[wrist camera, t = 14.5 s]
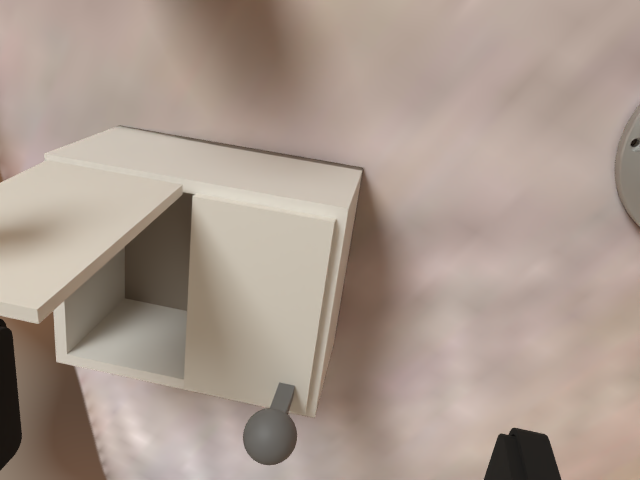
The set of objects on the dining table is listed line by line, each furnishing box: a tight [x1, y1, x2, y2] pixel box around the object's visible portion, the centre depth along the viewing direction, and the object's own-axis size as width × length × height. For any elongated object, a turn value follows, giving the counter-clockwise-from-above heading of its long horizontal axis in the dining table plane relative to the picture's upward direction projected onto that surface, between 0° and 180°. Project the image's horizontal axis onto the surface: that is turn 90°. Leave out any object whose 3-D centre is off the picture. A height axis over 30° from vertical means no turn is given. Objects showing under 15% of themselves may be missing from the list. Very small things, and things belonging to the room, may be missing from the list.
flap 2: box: [184, 193, 336, 465], centre depth 32 cm, size 8×13×6 cm, turn 172°
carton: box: [44, 126, 363, 418], centre depth 39 cm, size 18×15×9 cm
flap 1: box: [0, 160, 183, 324], centre depth 25 cm, size 8×13×6 cm
